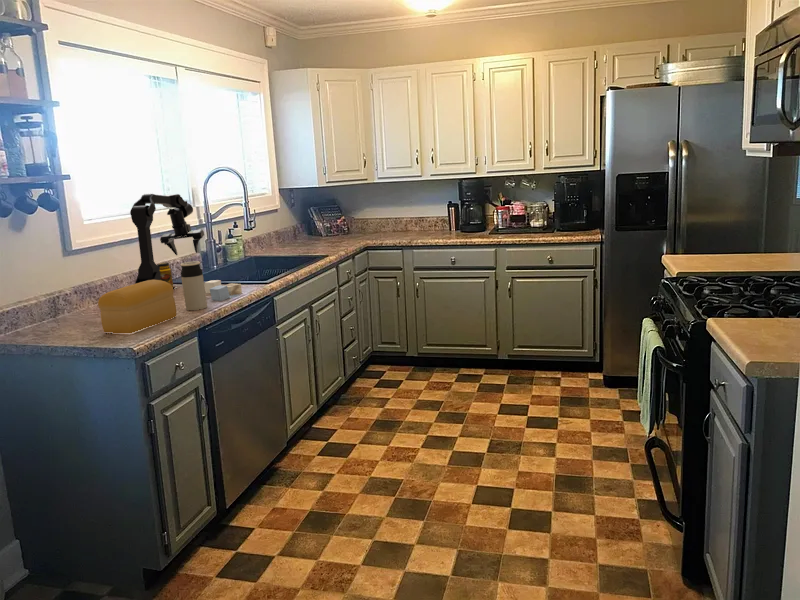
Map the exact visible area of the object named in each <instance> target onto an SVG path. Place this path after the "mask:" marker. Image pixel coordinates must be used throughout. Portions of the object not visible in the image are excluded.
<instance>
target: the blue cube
mask: <svg viewBox="0 0 800 600" xmlns="http://www.w3.org/2000/svg"><path fill="white" fill-rule="evenodd" d="M209 294H210V296H211V301H216V302H217V301H218V302H222V301H225V300H227V299H229V297H230V296H229V292H228V287H227V286H223V285H222V284H221V285H218V286H216V287H213V288H211V289H210V293H209Z"/></svg>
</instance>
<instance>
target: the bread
mask: <svg viewBox="0 0 800 600" xmlns="http://www.w3.org/2000/svg"><path fill="white" fill-rule="evenodd" d="M173 287H174V286H173ZM173 287H172V285H171V284H169V283H167V282H165V281H161V280H147V281H143V282H140V283H136V284H135V283H134V284H133V283H132V284H129V285H126V286H123V287H120V288H117V289H114V290H113V289H112V290H110V291H108V292H106V293H104V294H102V295H101V296H100V297H99V299H98V301H97V306H98V309H99V310H100V321H101V327H102V330H103V332H113V333H132V332H135V331H138V330H141V329H143V328H146V327H149V326H152V325H155V324H158V323H160V322H163V321H165V320H168V319H171V318H173V317H175V316H176V317H177V305H176V301H175V297H174V293H175V292H174V289H173ZM171 320H172V319H171ZM163 323H164V322H163ZM158 325H159V324H158Z"/></svg>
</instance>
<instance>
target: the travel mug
mask: <svg viewBox="0 0 800 600" xmlns="http://www.w3.org/2000/svg"><path fill="white" fill-rule="evenodd" d="M200 265H201V262H200V261H186V262H182V263H180V266H181V271H180V278H181V285H182V289H183V290H182V291H183V298H184V304H185V310H187V311H189V310H194V311H200V310H199V309H201V310H203V309H204V310H205V309H206V308H208V304H207V303H208V302H207V301H208V300H207V295H206V294H207V293H205V285H204V283H205V281H204V274H203V273H204V272H203V269H202V268H201V267H200Z"/></svg>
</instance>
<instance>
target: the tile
mask: <svg viewBox="0 0 800 600" xmlns="http://www.w3.org/2000/svg"><path fill="white" fill-rule="evenodd" d="M229 296H230V297H229V298H230V299H232V298H236V297H239V296H241V294H237V295H236V294H235V295H229ZM229 298H228V299H229Z"/></svg>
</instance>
